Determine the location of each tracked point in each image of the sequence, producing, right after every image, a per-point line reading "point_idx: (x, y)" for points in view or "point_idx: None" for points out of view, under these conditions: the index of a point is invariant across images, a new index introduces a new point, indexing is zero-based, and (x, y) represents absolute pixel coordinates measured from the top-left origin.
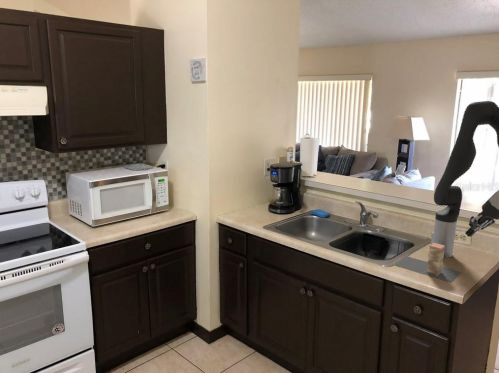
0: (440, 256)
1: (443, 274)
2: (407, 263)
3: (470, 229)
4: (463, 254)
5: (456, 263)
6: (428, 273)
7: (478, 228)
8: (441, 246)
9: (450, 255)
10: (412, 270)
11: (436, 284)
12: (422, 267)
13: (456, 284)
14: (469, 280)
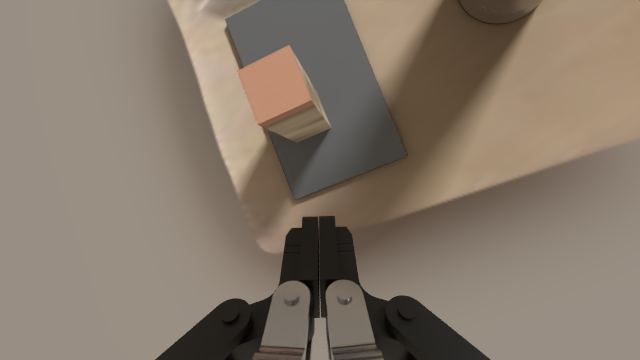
0: (277, 129)
1: (322, 143)
2: (279, 23)
3: (288, 278)
4: (601, 14)
5: (473, 79)
6: None
7: (329, 351)
8: (283, 102)
9: (508, 18)
10: None
11: (255, 178)
12: None
13: (312, 206)
14: (380, 204)
